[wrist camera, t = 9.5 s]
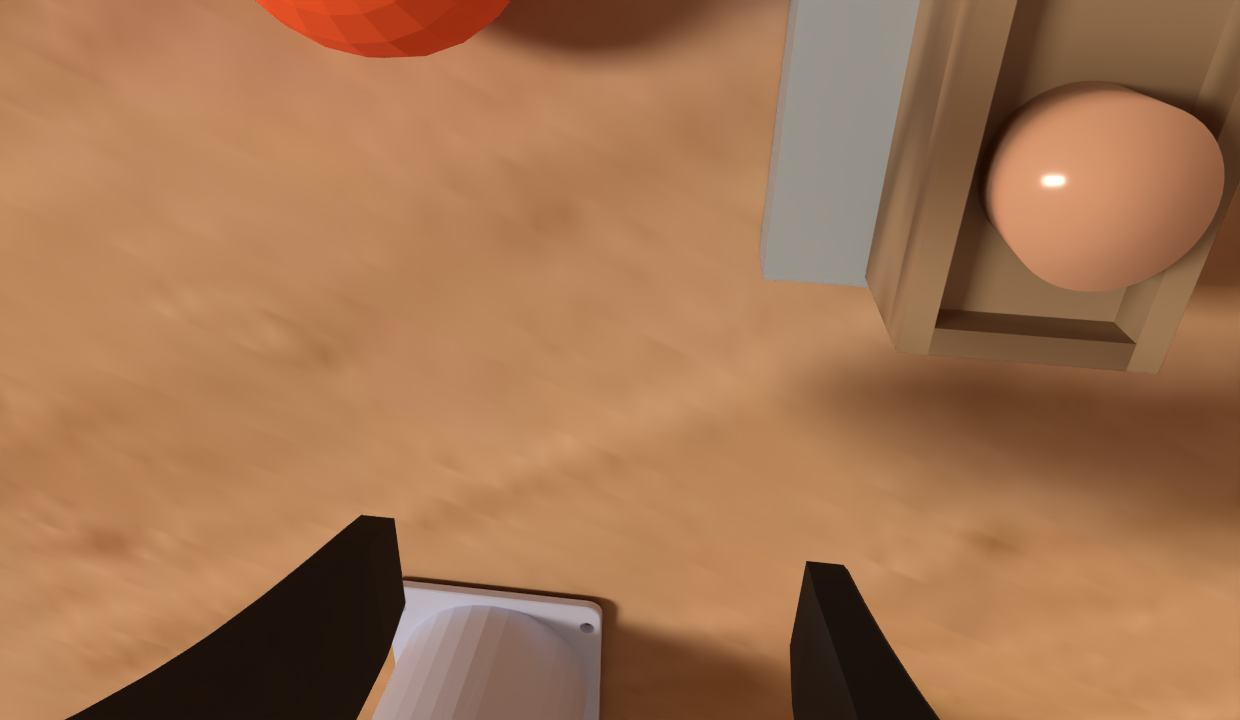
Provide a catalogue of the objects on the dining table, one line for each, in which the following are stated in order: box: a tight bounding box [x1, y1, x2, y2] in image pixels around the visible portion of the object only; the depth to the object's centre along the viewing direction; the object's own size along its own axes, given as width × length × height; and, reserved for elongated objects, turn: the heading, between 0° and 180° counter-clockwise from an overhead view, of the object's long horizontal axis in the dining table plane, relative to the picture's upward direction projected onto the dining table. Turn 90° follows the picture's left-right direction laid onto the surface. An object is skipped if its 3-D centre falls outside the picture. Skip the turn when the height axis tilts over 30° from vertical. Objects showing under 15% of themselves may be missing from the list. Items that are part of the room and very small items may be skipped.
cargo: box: [978, 81, 1224, 292], centre depth 14 cm, size 3×3×2 cm
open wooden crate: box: [865, 0, 1240, 374], centre depth 15 cm, size 8×5×4 cm, turn 178°
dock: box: [760, 0, 920, 287], centre depth 17 cm, size 9×10×3 cm
